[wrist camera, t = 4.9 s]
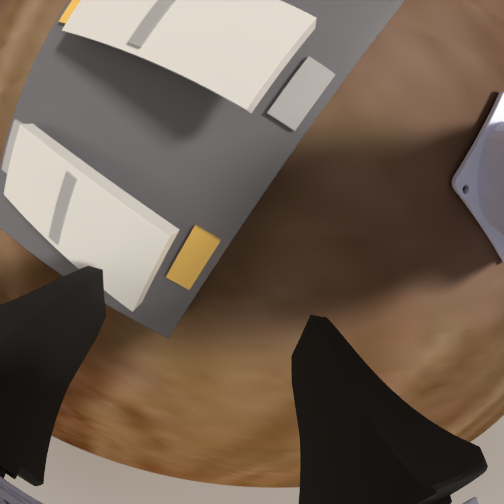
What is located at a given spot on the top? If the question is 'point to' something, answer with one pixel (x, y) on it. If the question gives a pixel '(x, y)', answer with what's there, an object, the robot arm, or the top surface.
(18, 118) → the switch panel
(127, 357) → the top surface
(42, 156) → the rocker
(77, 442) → the top surface
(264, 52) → the rocker
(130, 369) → the top surface
